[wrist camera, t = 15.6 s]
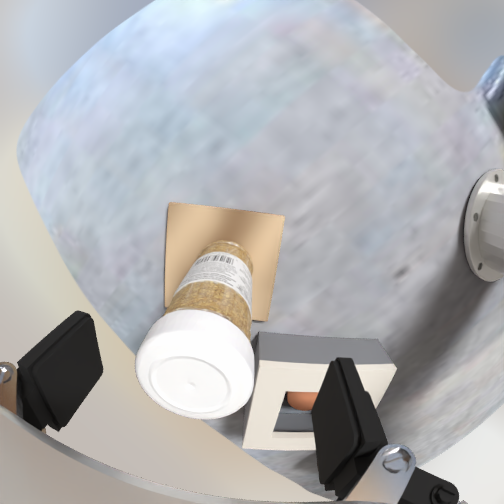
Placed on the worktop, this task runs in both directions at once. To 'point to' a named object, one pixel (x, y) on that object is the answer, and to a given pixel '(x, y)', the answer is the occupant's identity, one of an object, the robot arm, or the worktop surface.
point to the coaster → (223, 228)
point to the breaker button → (302, 400)
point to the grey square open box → (303, 384)
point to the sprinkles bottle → (203, 339)
